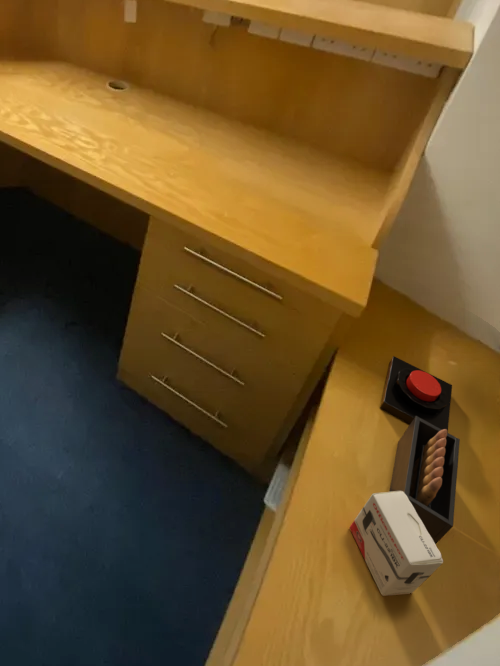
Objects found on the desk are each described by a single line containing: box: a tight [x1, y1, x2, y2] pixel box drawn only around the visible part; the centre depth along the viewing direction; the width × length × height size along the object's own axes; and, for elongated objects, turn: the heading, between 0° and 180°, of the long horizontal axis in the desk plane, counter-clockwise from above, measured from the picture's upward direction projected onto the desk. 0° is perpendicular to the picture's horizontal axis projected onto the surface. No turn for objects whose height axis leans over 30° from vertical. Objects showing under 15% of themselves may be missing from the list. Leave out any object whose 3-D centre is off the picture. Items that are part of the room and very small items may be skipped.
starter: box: [379, 355, 453, 433], centre depth 97 cm, size 12×10×4 cm
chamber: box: [388, 416, 461, 546], centre depth 82 cm, size 6×15×8 cm, turn 142°
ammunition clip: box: [409, 429, 447, 508], centre depth 81 cm, size 11×2×12 cm, turn 142°
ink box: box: [349, 491, 444, 597], centre depth 74 cm, size 8×5×12 cm, turn 4°
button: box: [406, 370, 441, 402], centre depth 95 cm, size 5×5×2 cm
